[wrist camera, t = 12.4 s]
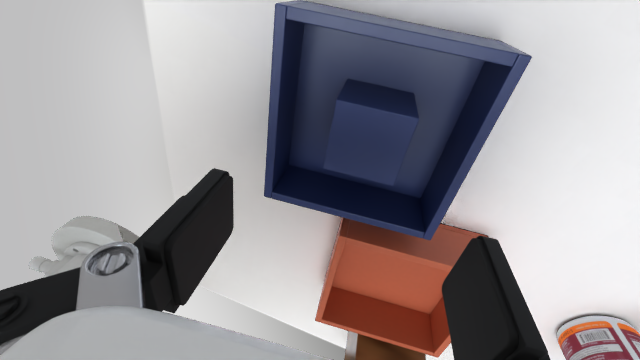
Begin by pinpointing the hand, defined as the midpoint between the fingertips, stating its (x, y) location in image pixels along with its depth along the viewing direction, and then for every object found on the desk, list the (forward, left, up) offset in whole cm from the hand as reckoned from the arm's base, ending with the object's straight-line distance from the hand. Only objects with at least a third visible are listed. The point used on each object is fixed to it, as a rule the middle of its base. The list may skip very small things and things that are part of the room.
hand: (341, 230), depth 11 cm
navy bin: (0, 0, -12) cm, 12 cm away
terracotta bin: (+6, -14, -12) cm, 19 cm away
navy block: (0, 0, -11) cm, 11 cm away
